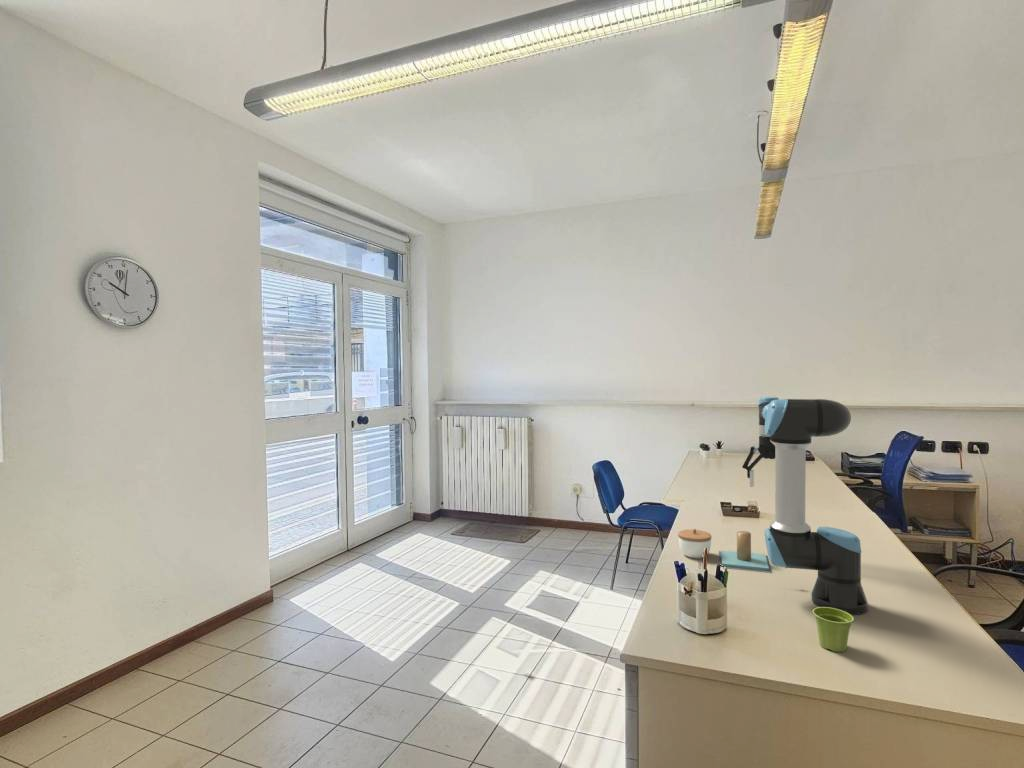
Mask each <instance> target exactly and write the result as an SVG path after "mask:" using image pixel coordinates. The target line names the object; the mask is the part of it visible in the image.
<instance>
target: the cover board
mask: <svg viewBox="0 0 1024 768" xmlns="http://www.w3.org/2000/svg"><path fill="white" fill-rule="evenodd" d="M720 551H721V552H722V565H723V566H725V567H735V568H745V569H755V570H764V571H769V567H768V563H767V559H766V556H765V555H766V554H763V553H755V552H752V534H751V532H749V531H745V530H738V531H736V551H735V550H734V551H733V550H723V549H722V550H720Z"/></svg>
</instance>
